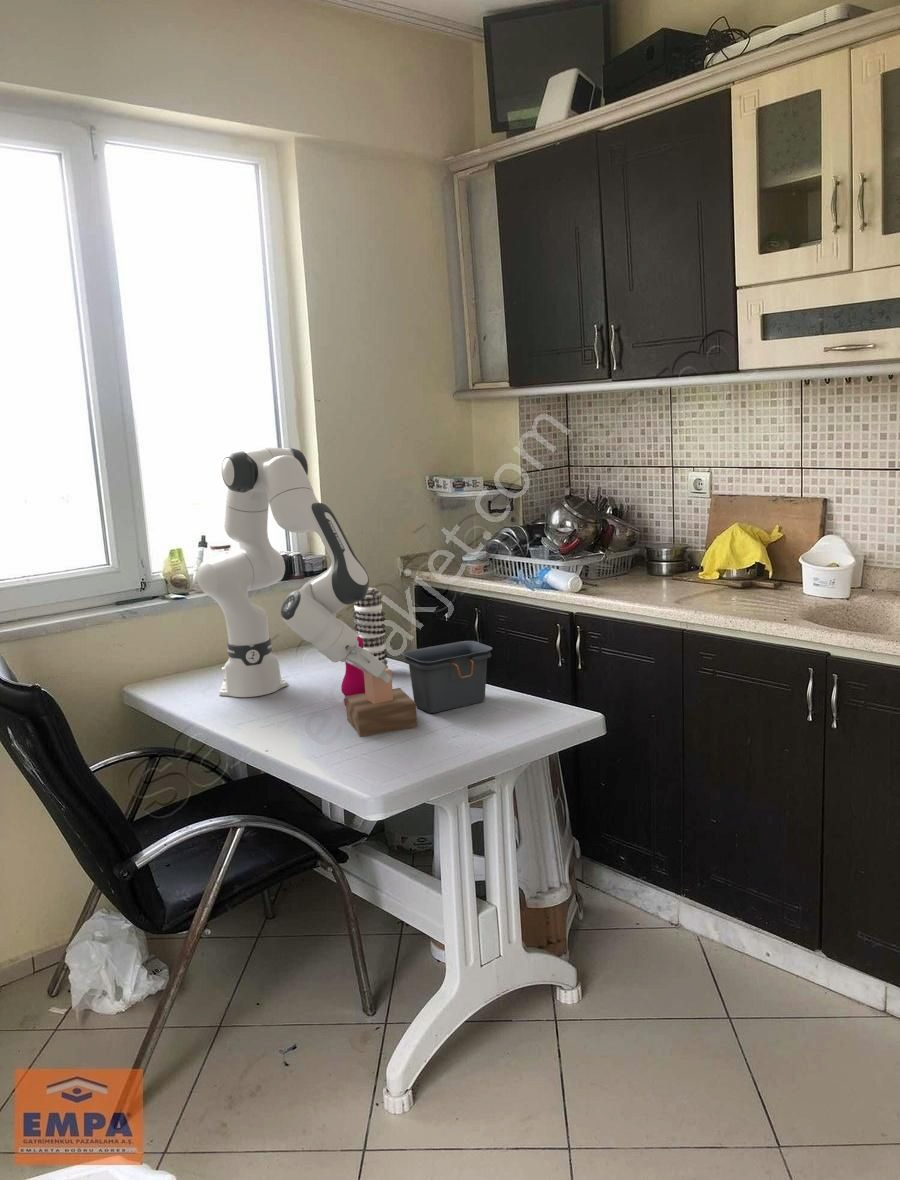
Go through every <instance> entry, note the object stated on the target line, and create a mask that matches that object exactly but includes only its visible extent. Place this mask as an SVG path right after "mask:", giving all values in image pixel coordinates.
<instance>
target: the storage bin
mask: <svg viewBox="0 0 900 1180" xmlns="http://www.w3.org/2000/svg"><path fill="white" fill-rule="evenodd" d="M492 650H493V647H492V646H489V645H486V644H484V643H481V642H478V641H476V640H464V641H456V642H451V643H445V644H439V645H434V646H427V647H423V648H422V647H421V648H417V649H411V650H406V651H404V652H402V656H404V659H403V661H404V664H407V665H408V667H409V674H410V676H409V677H410V681H411V688H412V696H413V701H414V702H415V703H416V708H418V709H420V710H423V711H425V712H426V713H429V714H435V713H439V712H443V711H448V710H452V709H456V708H461V707H465V706H466V707H467V706H470V705H474V704H479V703H483V702H485V700H486V687H487V685H486V684H487V669H488V668H487V665H488V663H487V662H488V659H489V658H491V657H492V653H491V651H492Z"/></svg>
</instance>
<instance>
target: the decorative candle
mask: <svg viewBox="0 0 900 1180" xmlns="http://www.w3.org/2000/svg"><path fill="white" fill-rule="evenodd" d="M353 607H354V608H352V617H353V618H354V620H353V624H354V628H353V630H356V631H355V632H356V633H357V636H359V637H360V638H361V639H362V640H363V644H364V647H363V649H365V650H366V651H368V652H369V653H371V654H372V655H373V656H375V657H376V658H377V659H379V660H380V661H381V662H382V663H384V664H385V665H386V667H387V668H388V669H389V666H388V660H387V658H388V655H387V654H386V653H387V651H388V650H387V649H386V643H385V636H384V635H386V629H385V627H386V624H384V623H383V622H384V621H386V618H385V614H386V613H385V612H384V611H382V610H383V603H382V592H381V591H379V589H378V588H376V587H374V586H373V587H372V586H371V587H369V588H368V592H367V594H366V596H365V597H364V598H363V599H362V600H359V601H357V602H355V603H354V606H353ZM363 672H364V671H363Z"/></svg>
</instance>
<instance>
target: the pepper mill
mask: <svg viewBox="0 0 900 1180" xmlns="http://www.w3.org/2000/svg"><path fill="white" fill-rule="evenodd" d="M357 640H358V642H359V645H358V646H359V647H361V648H363V647H364V644H363V640H362V639H361V638H360V637H359V636H357ZM344 663H345V674H344V676H343V679H342V682H341V686H340V688H341V693H342V694H343V695H344V699H343V700H344V703H343V704H344V707H346V701H345V696H350V695H356V694H363V693H365V682H364V672H363V671H362V670H360V669H358V668H357V667H355V666H353V665H351V664H349V663H347V662H344Z"/></svg>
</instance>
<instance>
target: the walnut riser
mask: <svg viewBox="0 0 900 1180" xmlns="http://www.w3.org/2000/svg"><path fill="white" fill-rule="evenodd" d="M392 689H393V700H391V701H386V702H381V703H377V704H373V703H372V702H370V701H368V700H367V699H366V694H365V693H363V694H356V695H350V696H345V695H344V698H345V701H346V706H345V709H346V721H348V723H349V725H350V726H352V729H354V731H355V732H356V734H358V736H359V738H360V737H362V738H363V737H366V736H373V735H379V734H384V733H391V732H398V731H403V730H409V729H413V728H418V717H417V716H418V714H417V707H416V703H415V702H414V699H412V698H411V697H410V696H409V695H408V694H407V693H406V692H405V691H404V690H403V689H402V688H401V687H396V688H392Z"/></svg>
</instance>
